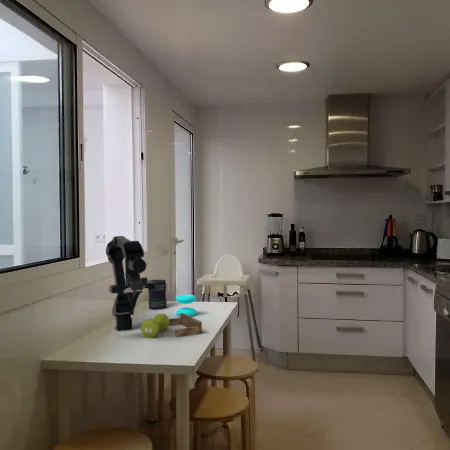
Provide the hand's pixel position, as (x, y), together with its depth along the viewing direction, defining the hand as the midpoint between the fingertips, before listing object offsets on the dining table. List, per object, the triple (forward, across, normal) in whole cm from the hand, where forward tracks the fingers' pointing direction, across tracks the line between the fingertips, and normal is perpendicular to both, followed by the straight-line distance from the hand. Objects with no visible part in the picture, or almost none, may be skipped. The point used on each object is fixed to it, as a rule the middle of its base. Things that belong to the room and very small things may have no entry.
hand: (133, 307), depth 209 cm
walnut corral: (+12, +20, 0) cm, 24 cm away
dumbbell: (+12, +10, 0) cm, 16 cm away
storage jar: (+12, +29, +55) cm, 63 cm away
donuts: (+12, +34, +28) cm, 46 cm away
